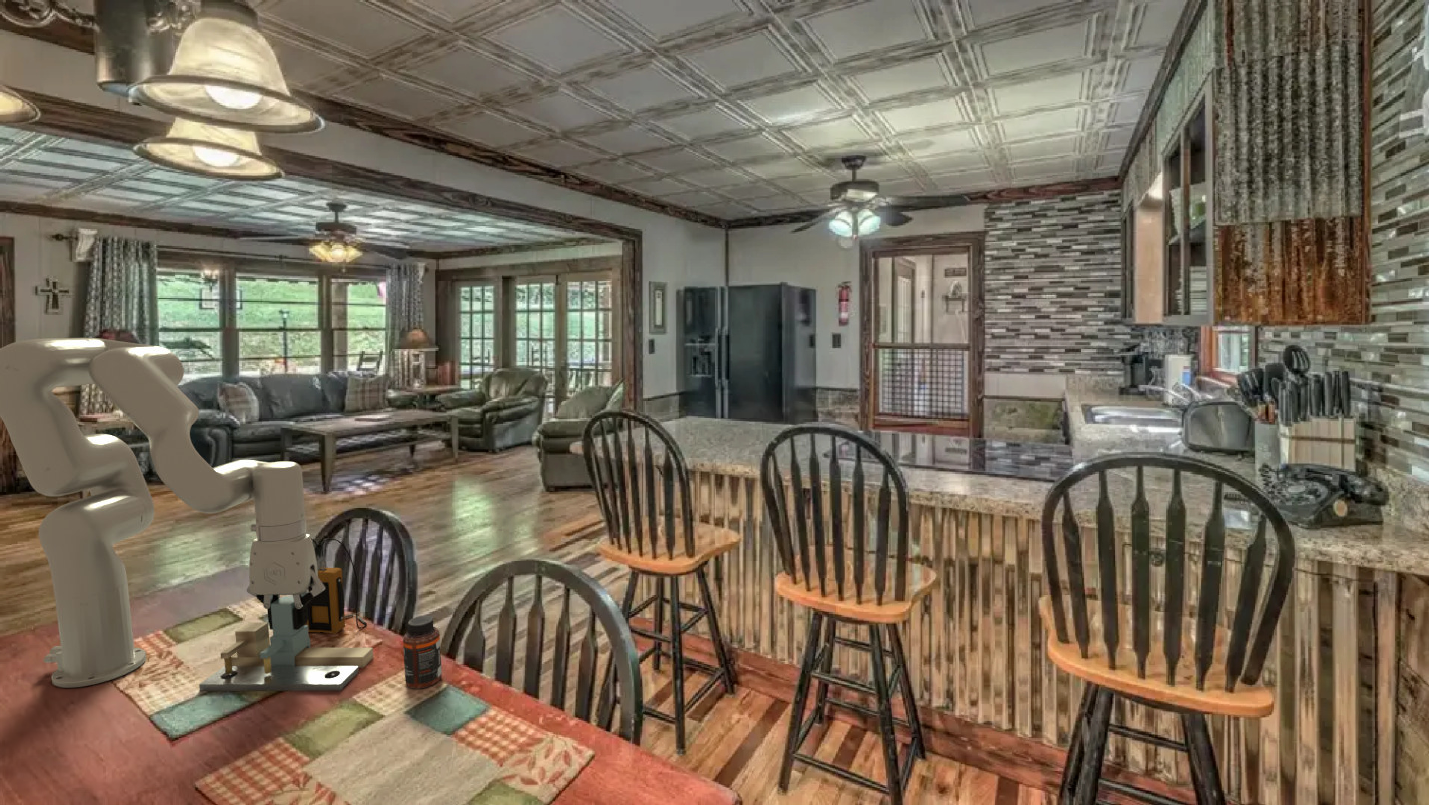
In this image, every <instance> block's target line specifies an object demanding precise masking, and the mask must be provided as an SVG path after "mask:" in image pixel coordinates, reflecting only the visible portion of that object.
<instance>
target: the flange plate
mask: <svg viewBox="0 0 1429 805" xmlns="http://www.w3.org/2000/svg"><path fill="white" fill-rule="evenodd" d="M232 671H233V672H232V673H230V674H226V673H225V665H224V666H222V667H221V668H220V669H219V670H217V671H216V672H215V673H213V674H212V675H210V676H208V677H207V678H206V679H205V680H203V681H202V682H201V683H199V684H198V687H199V688H198V689H199V692H230V691H231V692H240V691H241V692H247V691H248V692H256V691H258V692H259V691H260V692H266V691H267V692H270V691H272V692H276V691H277V692H284V691H285V692H286V691H287V692H288V691H290V692H292V691H293V692H294V691H295V692H297V691H298V692H299V691H300V692H303V691H306V692H308V691H311V692H313V691H314V692H315V691H317V692H318V691H320V692H321V691H327V692H328V691H331V692H332V691H339V692H340V691H342V690H343V689H344V688H345V687H346V686H347V685H348V684H349V683H350V682H351V680H352V679H354V678H355V677H356V676H357V674H358V673H359V671H360V670H359V667H358V666H271V673H268V674H265V671H264V666H232ZM205 690H206V691H205ZM208 690H209V691H208Z"/></svg>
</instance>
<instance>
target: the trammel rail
mask: <svg viewBox="0 0 1429 805" xmlns="http://www.w3.org/2000/svg"><path fill="white" fill-rule="evenodd" d="M234 633H235V634H234V635H235V643H233V644H232V645H230V646H229V647H227V648H226V649H224V650H223V651H221V652H220V659H224V666H225V673H226V674H230V673H232V672H233V671H232V666H264V659H263V658H260V653H261V652H262V651H263V650H265V649H266V648H267V647H269V646H270V627H269V622H248V623H246V624H244V625H243V626H241V627H240V628H238V629H236V630H235V631H234ZM294 657H295V666H358V668H364V667H366V666H367V664H369V663H370V662H371V661H372V659H373V658H374V647H311V648H304V649H303V650H302V651H301V652H299V653H298V654H297V655H296V656H294Z"/></svg>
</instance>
